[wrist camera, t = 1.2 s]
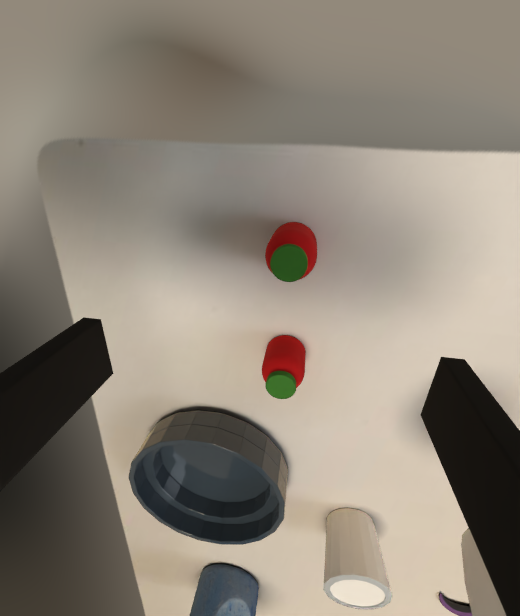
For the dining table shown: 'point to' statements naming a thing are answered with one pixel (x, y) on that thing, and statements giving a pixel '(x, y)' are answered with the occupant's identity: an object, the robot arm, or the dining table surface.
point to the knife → (455, 607)
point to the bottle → (225, 592)
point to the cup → (478, 581)
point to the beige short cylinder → (354, 561)
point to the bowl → (211, 478)
